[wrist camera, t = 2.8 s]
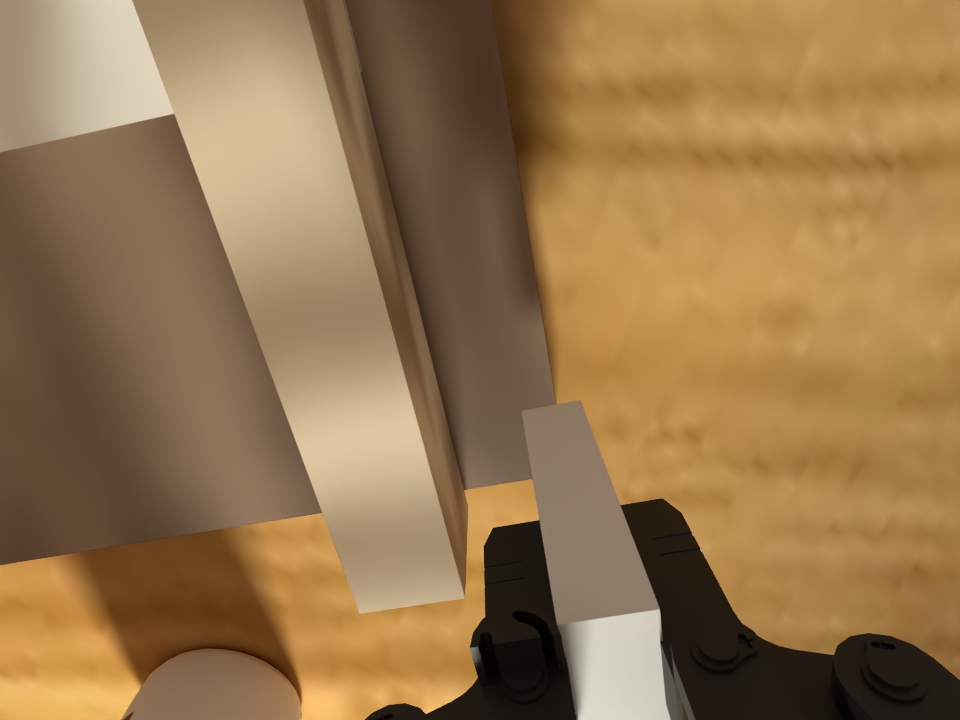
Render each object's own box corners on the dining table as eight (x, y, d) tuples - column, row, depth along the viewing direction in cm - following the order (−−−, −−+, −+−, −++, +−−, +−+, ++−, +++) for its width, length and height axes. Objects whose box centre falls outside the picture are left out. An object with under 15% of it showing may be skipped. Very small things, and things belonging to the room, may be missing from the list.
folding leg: (192, -69, 13) (79, -144, 9) (317, -100, 13) (251, -190, 9) (382, 520, 19) (359, 613, 16) (468, 507, 19) (465, 598, 16)
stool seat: (460, -155, 15) (455, -221, 12) (556, 428, 22) (567, 474, 19) (-445, 72, 17) (-631, 62, 14) (-99, 538, 24) (-179, 595, 21)
